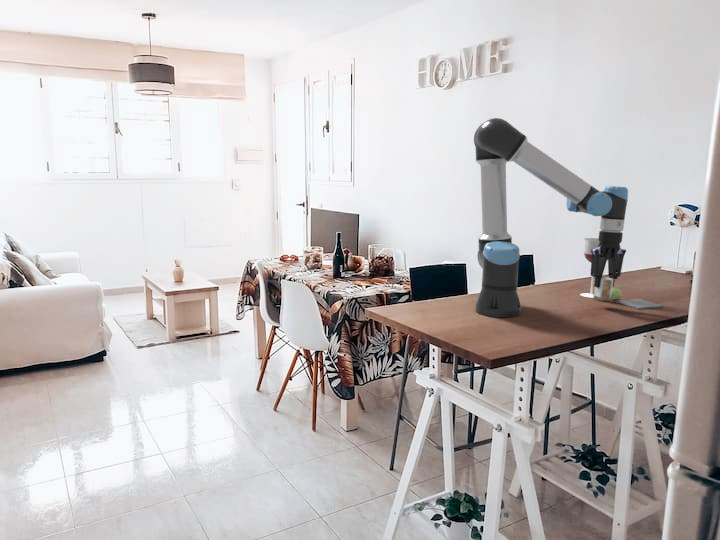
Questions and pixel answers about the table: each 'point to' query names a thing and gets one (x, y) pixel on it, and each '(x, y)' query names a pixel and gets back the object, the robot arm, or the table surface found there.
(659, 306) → the coaster
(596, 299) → the cork
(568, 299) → the table surface
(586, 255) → the wineglass
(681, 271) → the table surface
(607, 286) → the cork
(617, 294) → the lime
